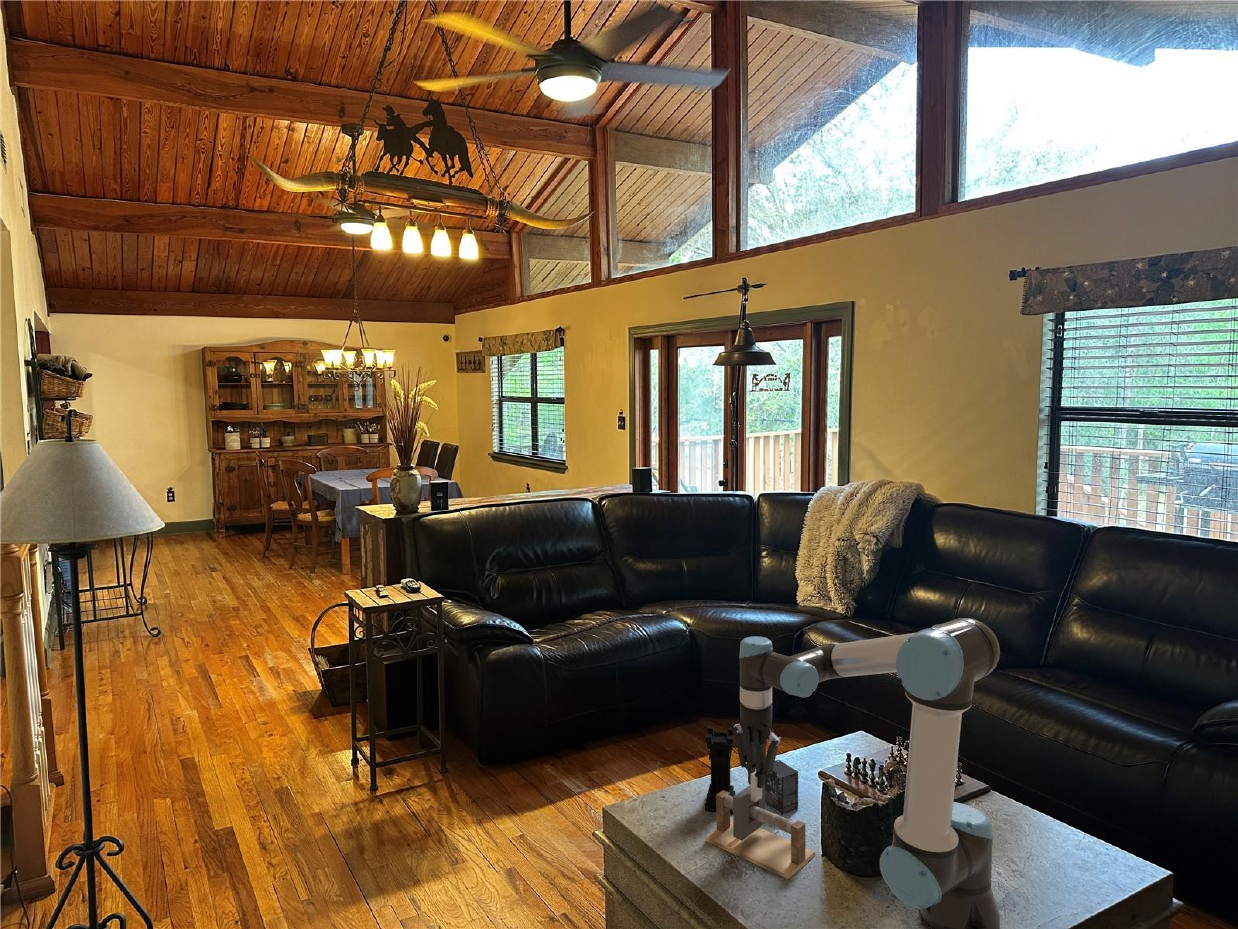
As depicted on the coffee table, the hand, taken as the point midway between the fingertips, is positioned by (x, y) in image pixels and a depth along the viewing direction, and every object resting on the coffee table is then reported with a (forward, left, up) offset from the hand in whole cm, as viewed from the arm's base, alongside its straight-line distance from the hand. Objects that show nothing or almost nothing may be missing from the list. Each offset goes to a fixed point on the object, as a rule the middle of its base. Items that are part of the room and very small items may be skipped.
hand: (756, 798), depth 188 cm
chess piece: (+18, -10, -12) cm, 24 cm away
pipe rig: (-1, 0, -12) cm, 12 cm away
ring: (+2, 0, -9) cm, 9 cm away
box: (+6, -20, -12) cm, 24 cm away
